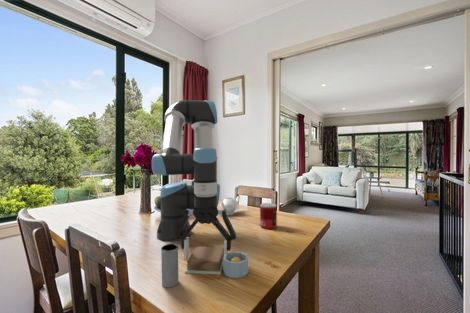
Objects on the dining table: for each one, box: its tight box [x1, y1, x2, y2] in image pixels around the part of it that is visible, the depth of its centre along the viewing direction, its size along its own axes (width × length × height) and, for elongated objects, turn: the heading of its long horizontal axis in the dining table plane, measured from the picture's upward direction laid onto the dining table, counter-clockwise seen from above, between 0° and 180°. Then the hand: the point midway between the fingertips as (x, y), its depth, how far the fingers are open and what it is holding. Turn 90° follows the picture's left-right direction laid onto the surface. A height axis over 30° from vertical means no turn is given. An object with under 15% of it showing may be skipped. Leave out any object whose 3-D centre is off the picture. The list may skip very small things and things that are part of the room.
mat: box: [184, 261, 223, 275], centre depth 72 cm, size 11×11×1 cm
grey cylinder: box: [160, 243, 180, 288], centre depth 62 cm, size 4×4×10 cm
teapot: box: [218, 195, 241, 216], centre depth 133 cm, size 10×20×9 cm, turn 144°
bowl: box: [222, 251, 249, 279], centre depth 68 cm, size 8×8×4 cm
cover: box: [186, 246, 224, 272], centre depth 72 cm, size 10×10×3 cm
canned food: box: [259, 202, 278, 230], centre depth 108 cm, size 8×8×11 cm
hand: (206, 259), depth 72 cm, fingers open, 13 cm apart
